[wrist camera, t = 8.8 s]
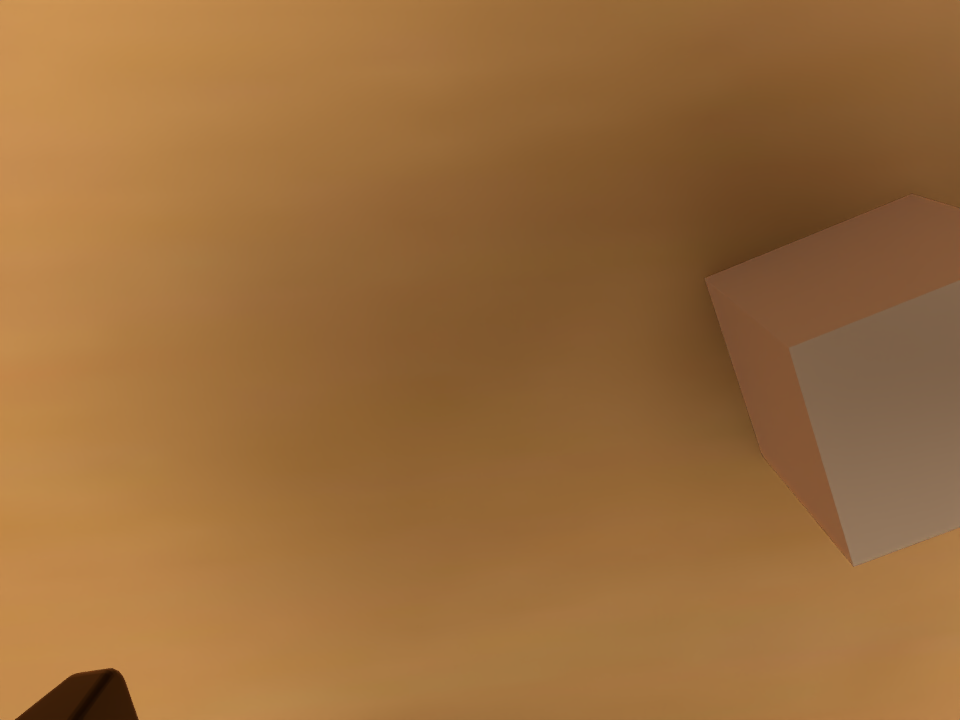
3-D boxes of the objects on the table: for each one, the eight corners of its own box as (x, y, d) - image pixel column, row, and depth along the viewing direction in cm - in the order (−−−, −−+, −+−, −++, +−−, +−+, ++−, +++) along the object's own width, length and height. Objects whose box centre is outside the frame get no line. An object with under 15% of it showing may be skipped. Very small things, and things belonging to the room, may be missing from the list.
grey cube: (952, 380, 21) (1102, 474, 16) (760, 454, 22) (853, 566, 17) (910, 193, 19) (1064, 239, 15) (702, 277, 20) (788, 348, 15)
